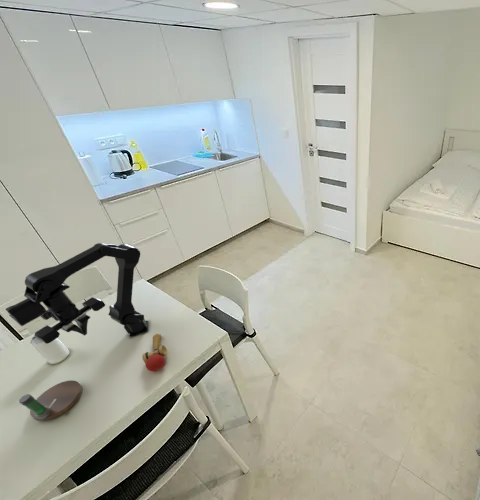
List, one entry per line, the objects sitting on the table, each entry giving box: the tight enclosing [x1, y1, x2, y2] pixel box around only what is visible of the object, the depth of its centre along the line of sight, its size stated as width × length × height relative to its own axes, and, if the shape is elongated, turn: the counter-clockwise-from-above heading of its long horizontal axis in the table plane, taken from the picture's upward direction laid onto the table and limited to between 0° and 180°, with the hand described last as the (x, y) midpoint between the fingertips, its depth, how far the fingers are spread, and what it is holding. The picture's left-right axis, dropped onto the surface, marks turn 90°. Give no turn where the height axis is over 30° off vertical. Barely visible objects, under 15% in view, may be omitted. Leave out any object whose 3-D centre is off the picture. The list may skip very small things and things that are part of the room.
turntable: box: [18, 380, 83, 422], centre depth 94 cm, size 13×13×11 cm
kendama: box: [141, 333, 169, 373], centre depth 111 cm, size 8×6×18 cm
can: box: [29, 335, 70, 365], centre depth 109 cm, size 6×6×12 cm
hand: (85, 334), depth 105 cm, fingers closed
